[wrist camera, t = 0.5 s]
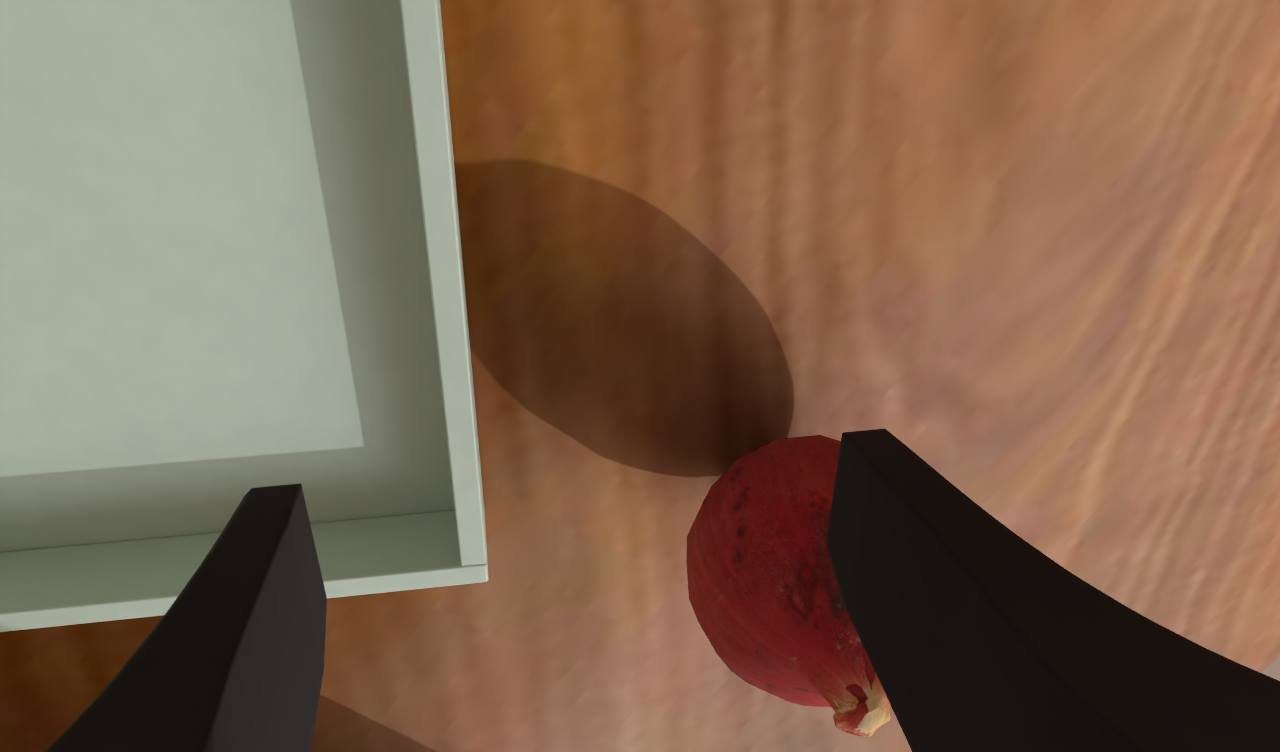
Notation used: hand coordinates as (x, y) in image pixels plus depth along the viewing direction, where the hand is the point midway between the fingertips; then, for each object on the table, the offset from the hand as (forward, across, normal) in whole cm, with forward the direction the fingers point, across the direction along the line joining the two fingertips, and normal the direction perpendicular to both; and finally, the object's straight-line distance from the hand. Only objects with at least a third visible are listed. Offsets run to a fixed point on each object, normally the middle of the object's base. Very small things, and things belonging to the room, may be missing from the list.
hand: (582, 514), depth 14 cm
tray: (+10, +8, 0) cm, 13 cm away
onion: (+10, -6, +8) cm, 14 cm away
